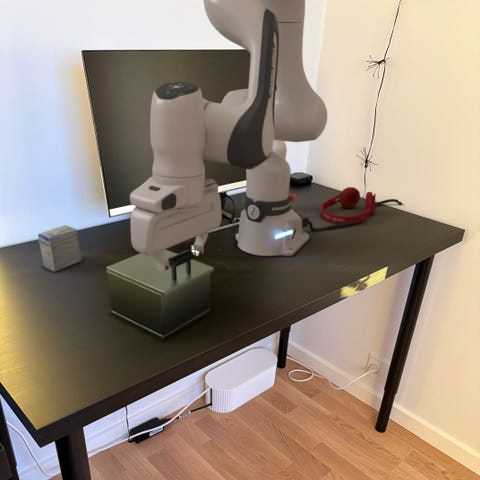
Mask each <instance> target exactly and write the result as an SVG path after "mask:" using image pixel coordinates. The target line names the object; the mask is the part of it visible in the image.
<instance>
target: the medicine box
mask: <svg viewBox="0 0 480 480" xmlns="http://www.w3.org/2000/svg"><path fill="white" fill-rule="evenodd" d="M37 237H38V243H39V249H40V252H41V259H42V264H43V267H44V268H45V269H47V270H49V271H52V272H54V273H55V272H59V271H60V270H63V269H65V268H68V267H70V266H73V265H75V264H78V263H80V262H82V255H81V250H80V241H79V234H78V229H76V228H74V227H72V226H70V225H66V224H65V225H61V226H58V227H54V228H51V229H49V230H46V231H43V232H40V233H38V234H37Z"/></svg>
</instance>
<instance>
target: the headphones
mask: <svg viewBox="0 0 480 480" xmlns="http://www.w3.org/2000/svg"><path fill="white" fill-rule="evenodd" d="M337 199H338V200H337ZM360 199H361V193H360V190H358V188H356V187H354V186H348V187H346V188H344V189H343V190H342V191H341V192H340V193H339V194H337V195H336V196H334V197H331V198H328V199H327V200H326V201H324V202H323V203H322V204H321V217H322V218H323V219H325V220H326V221H328V222H331V223H334V224H343V223H348V222H355V223H356V224H358V223H361V222H363V221H365V220H366V219H368V218H369V217H370V216H371V215H372V213H373V214H374V211H376V206H375V203H376V193H373V192H372V191H367V192H366V194H365V200H364V212H362V213H360V214H356V215H337V214H333V213H330V212H328V211H327V209H328V208H330V207H333V206H335V205H337V204H338V203H340V205H341V207H343V208H345V209H348V210H349V209H352V208H354V207H355V206H357V205H358V203H359V202H360Z"/></svg>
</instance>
